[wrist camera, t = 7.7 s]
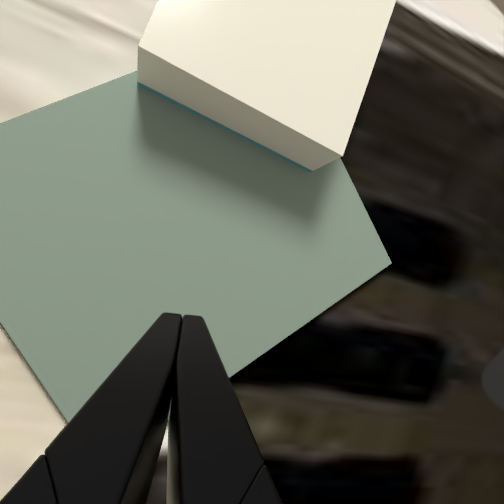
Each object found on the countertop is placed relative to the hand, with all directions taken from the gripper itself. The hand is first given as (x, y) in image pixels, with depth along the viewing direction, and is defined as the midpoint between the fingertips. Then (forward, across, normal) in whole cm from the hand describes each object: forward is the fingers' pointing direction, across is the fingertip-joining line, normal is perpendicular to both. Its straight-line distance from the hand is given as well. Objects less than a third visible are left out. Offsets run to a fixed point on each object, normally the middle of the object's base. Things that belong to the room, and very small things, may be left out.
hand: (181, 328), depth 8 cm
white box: (+11, -1, -2) cm, 11 cm away
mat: (+9, 0, +3) cm, 10 cm away
